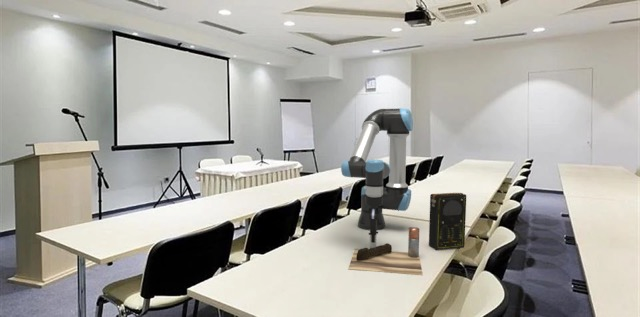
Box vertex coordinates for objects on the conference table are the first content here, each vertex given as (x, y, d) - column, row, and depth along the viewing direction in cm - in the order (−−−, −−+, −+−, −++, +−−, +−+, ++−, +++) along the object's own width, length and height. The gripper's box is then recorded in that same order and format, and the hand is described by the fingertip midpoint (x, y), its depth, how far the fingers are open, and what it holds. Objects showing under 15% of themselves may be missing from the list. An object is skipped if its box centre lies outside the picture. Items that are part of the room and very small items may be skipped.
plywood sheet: (354, 249, 166) (354, 248, 166) (418, 253, 160) (418, 253, 160) (348, 269, 142) (348, 268, 142) (422, 275, 137) (422, 274, 137)
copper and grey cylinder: (407, 253, 160) (408, 226, 158) (418, 254, 159) (419, 227, 158) (408, 257, 155) (408, 229, 154) (418, 258, 154) (419, 230, 153)
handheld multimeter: (436, 251, 163) (438, 196, 161) (426, 245, 172) (427, 192, 169) (466, 248, 167) (468, 194, 165) (455, 242, 176) (456, 191, 174)
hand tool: (385, 250, 163) (386, 240, 163) (392, 253, 160) (392, 243, 159) (352, 259, 153) (352, 248, 152) (358, 262, 149) (358, 251, 149)
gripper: (366, 192, 165) (365, 243, 167) (364, 198, 153) (363, 253, 155) (383, 193, 164) (382, 244, 166) (382, 198, 151) (381, 254, 153)
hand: (373, 248), depth 160 cm, fingers closed
